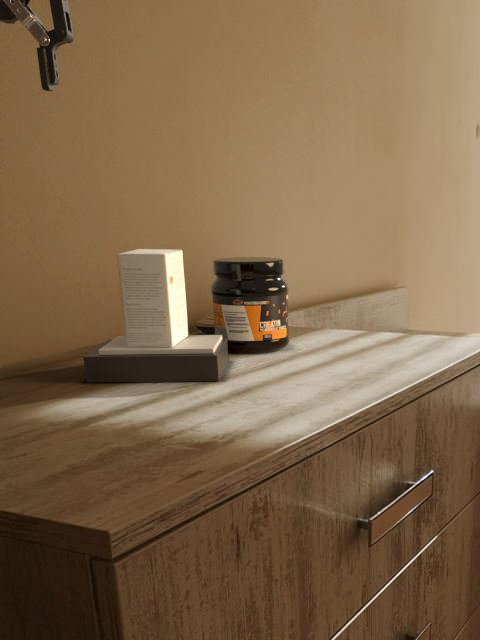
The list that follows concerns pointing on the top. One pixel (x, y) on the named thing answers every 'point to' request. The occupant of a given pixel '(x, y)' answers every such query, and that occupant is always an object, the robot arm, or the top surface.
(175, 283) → the small box
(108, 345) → the scale
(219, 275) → the supplement container
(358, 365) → the top surface
